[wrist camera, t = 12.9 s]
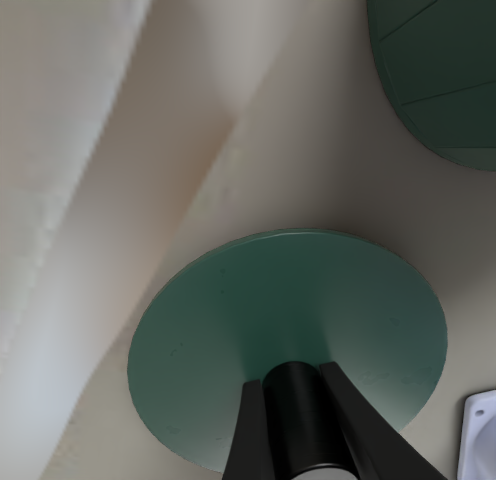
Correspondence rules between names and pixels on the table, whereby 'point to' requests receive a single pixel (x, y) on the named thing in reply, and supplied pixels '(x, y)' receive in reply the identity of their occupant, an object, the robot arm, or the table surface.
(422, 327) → the lid
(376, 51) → the pot
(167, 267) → the table surface
